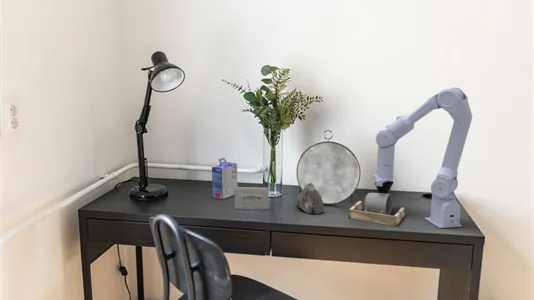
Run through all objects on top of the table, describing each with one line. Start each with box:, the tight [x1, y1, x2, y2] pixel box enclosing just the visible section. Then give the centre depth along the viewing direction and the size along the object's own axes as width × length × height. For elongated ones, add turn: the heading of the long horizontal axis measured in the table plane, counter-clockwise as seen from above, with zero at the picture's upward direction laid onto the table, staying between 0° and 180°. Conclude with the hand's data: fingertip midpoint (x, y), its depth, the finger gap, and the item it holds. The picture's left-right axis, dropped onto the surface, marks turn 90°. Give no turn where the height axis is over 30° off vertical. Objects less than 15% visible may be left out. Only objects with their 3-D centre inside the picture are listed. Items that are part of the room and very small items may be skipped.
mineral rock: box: [296, 182, 325, 215], centre depth 177 cm, size 13×11×10 cm
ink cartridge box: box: [211, 157, 239, 200], centre depth 192 cm, size 10×6×14 cm, turn 148°
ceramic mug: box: [363, 192, 393, 215], centre depth 170 cm, size 11×8×8 cm
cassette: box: [234, 186, 270, 210], centre depth 177 cm, size 12×2×8 cm, turn 89°
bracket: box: [347, 200, 405, 227], centre depth 169 cm, size 12×16×3 cm
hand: (383, 201), depth 176 cm, fingers closed
